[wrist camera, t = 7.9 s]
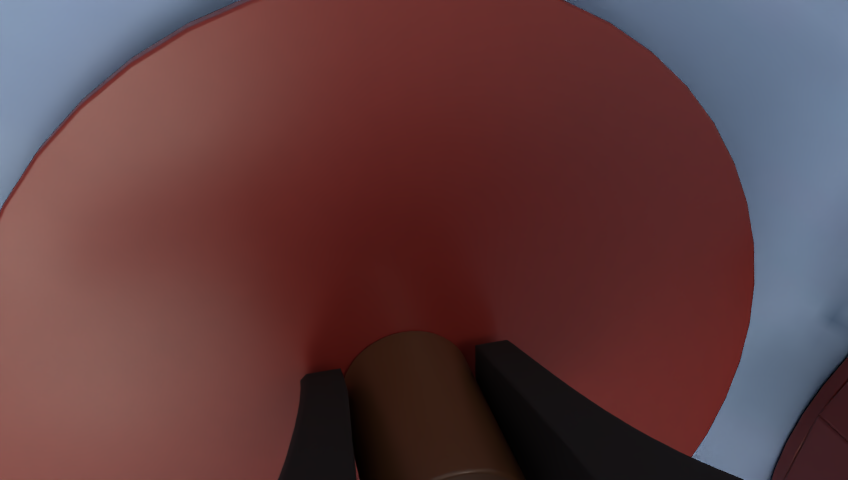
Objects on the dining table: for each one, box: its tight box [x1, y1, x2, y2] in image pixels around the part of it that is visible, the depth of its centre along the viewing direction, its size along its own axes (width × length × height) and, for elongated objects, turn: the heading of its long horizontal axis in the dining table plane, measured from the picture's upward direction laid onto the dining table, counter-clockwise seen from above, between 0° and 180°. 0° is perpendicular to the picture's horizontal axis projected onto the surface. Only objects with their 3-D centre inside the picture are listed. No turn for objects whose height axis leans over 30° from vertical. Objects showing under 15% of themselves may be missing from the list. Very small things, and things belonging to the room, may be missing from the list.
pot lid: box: [0, 0, 754, 480], centre depth 12 cm, size 14×14×5 cm
